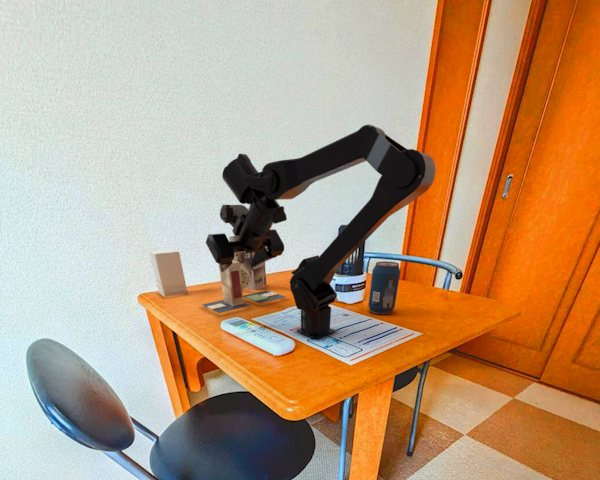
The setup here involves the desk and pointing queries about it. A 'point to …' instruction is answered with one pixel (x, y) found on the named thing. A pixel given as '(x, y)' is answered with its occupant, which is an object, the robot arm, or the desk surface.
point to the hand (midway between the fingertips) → (237, 268)
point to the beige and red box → (232, 284)
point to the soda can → (384, 287)
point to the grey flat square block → (263, 296)
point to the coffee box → (250, 270)
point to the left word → (223, 306)
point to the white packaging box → (168, 272)
